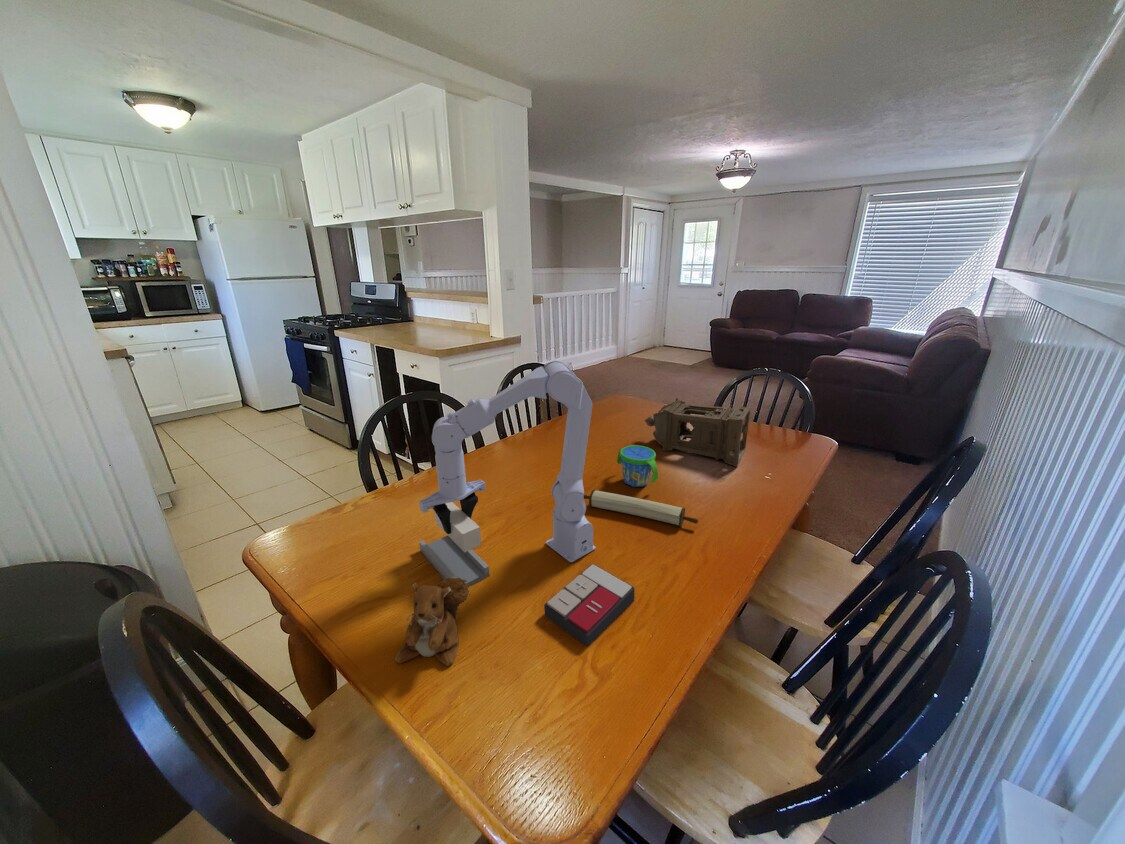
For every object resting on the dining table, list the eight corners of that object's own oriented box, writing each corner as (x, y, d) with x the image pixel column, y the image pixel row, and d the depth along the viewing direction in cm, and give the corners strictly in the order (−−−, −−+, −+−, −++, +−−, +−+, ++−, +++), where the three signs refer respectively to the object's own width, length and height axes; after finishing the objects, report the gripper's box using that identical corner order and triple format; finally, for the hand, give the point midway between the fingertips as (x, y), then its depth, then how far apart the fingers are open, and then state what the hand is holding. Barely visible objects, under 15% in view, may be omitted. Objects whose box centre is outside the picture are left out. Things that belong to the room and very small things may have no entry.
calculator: (542, 601, 81) (592, 560, 91) (544, 618, 83) (592, 575, 93) (587, 633, 74) (635, 584, 84) (587, 651, 76) (635, 601, 86)
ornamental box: (636, 452, 158) (636, 407, 150) (654, 431, 171) (654, 388, 163) (736, 473, 141) (741, 423, 133) (747, 447, 154) (752, 400, 146)
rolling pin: (698, 524, 111) (700, 507, 109) (695, 535, 106) (697, 518, 104) (583, 498, 123) (583, 482, 122) (575, 507, 119) (576, 491, 117)
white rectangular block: (481, 544, 92) (479, 526, 90) (464, 552, 89) (462, 534, 88) (451, 516, 102) (449, 500, 100) (435, 522, 99) (433, 506, 98)
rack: (489, 575, 93) (488, 566, 92) (455, 593, 88) (454, 583, 87) (451, 537, 106) (450, 528, 105) (420, 550, 101) (419, 541, 100)
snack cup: (666, 489, 127) (669, 458, 124) (637, 498, 123) (639, 466, 119) (634, 468, 140) (636, 439, 137) (607, 475, 136) (608, 446, 132)
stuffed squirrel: (392, 667, 72) (379, 606, 67) (431, 605, 85) (423, 550, 80) (447, 677, 70) (438, 615, 66) (478, 612, 83) (473, 556, 79)
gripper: (472, 457, 97) (477, 508, 102) (410, 476, 89) (418, 531, 94) (488, 468, 92) (492, 521, 97) (424, 489, 84) (431, 547, 88)
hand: (457, 527), depth 95 cm, fingers closed on white rectangular block, 4 cm apart
